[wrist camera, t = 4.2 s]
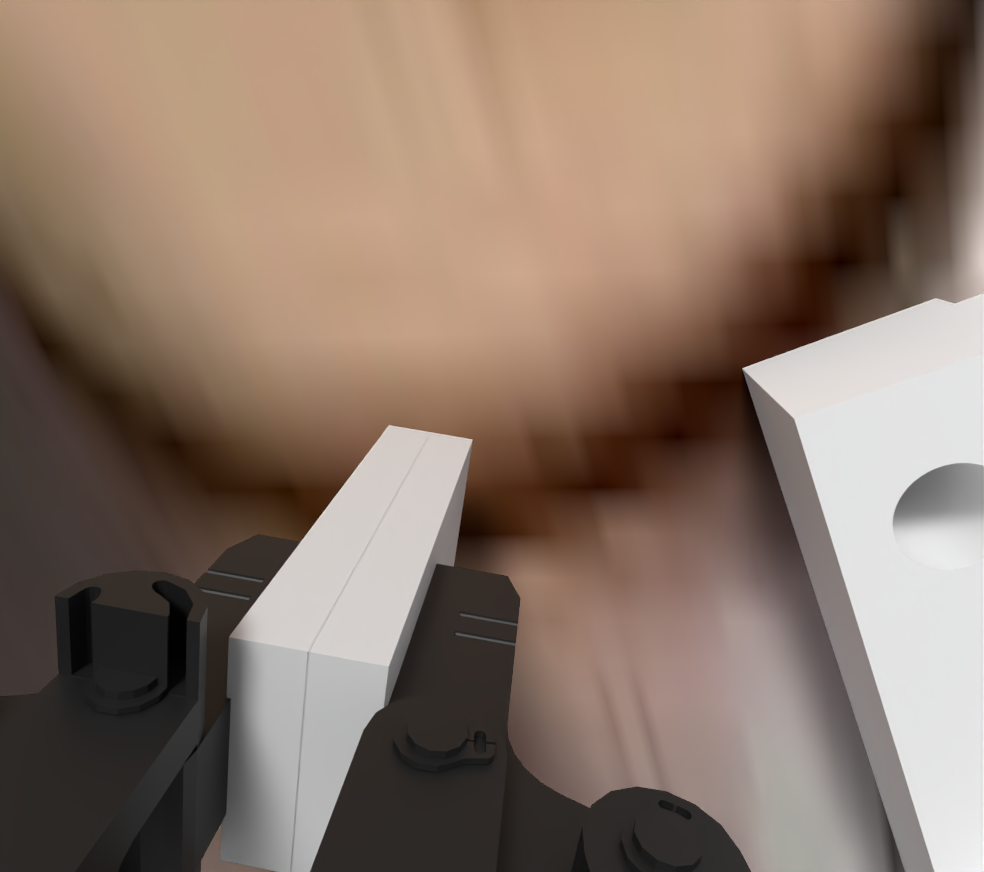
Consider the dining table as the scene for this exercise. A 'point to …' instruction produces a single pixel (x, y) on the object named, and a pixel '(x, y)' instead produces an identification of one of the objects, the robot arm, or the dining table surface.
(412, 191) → the dining table surface
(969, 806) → the bracket
